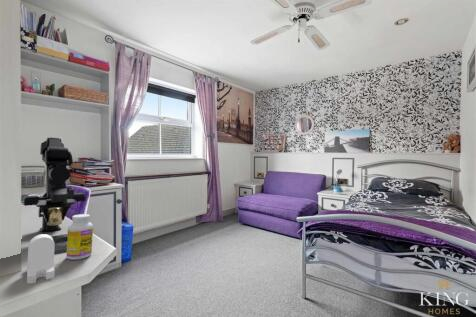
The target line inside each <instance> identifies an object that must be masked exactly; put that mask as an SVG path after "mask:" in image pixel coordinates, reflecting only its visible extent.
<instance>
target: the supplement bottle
mask: <svg viewBox="0 0 476 317" xmlns="http://www.w3.org/2000/svg"><path fill="white" fill-rule="evenodd" d="M71 218H72V220H71V221H72V223H70V224H69V225H68V227H67V234H68V238H67V251H66V259H67V260H72V261H78V260H83V259H86V258H89V257H90V256H91V255H92V252H93V251H92V250H93V234H94V233H93V232H94V231H93V230H94V225H93V223H92V222H90V219H91V215H90V214H88V213H80V214H74V215H72V217H71Z"/></svg>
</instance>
